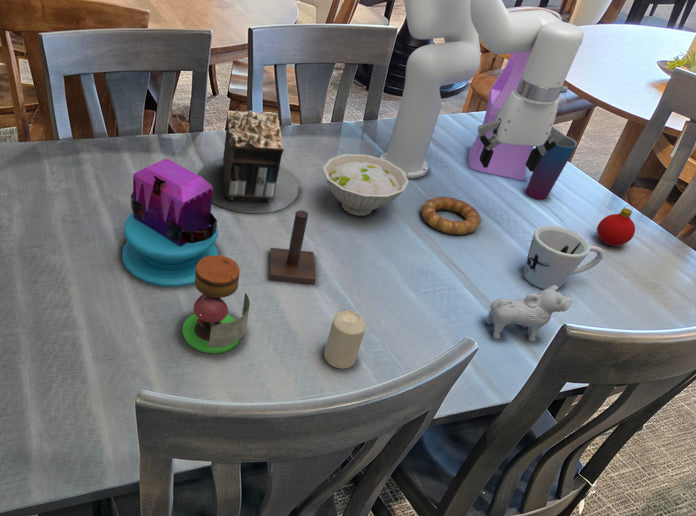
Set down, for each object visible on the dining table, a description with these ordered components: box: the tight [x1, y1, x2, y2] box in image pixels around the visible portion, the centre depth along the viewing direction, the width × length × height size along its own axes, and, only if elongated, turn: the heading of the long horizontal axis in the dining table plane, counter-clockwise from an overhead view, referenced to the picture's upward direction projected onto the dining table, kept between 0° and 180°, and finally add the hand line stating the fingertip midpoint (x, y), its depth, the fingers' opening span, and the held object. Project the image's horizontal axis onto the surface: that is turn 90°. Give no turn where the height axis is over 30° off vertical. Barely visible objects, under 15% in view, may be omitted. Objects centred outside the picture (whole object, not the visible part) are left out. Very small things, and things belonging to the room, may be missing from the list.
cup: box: [525, 134, 578, 201], centre depth 153 cm, size 7×7×15 cm
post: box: [269, 209, 317, 285], centre depth 125 cm, size 9×9×14 cm
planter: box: [196, 109, 299, 214], centre depth 148 cm, size 25×25×19 cm
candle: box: [323, 309, 367, 370], centre depth 108 cm, size 6×6×10 cm
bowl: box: [322, 153, 410, 216], centre depth 145 cm, size 19×19×10 cm
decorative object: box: [121, 157, 219, 288], centre depth 124 cm, size 20×20×20 cm
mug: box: [522, 225, 604, 290], centre depth 128 cm, size 10×15×10 cm
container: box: [468, 41, 583, 181], centre depth 158 cm, size 14×14×35 cm
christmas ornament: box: [596, 204, 636, 247], centre depth 140 cm, size 7×7×10 cm
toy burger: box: [182, 254, 251, 354], centre depth 109 cm, size 12×13×15 cm
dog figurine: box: [485, 285, 573, 342], centre depth 115 cm, size 5×13×11 cm, turn 89°
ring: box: [420, 196, 482, 236], centre depth 145 cm, size 13×13×3 cm
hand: (506, 166), depth 135 cm, fingers open, 9 cm apart
